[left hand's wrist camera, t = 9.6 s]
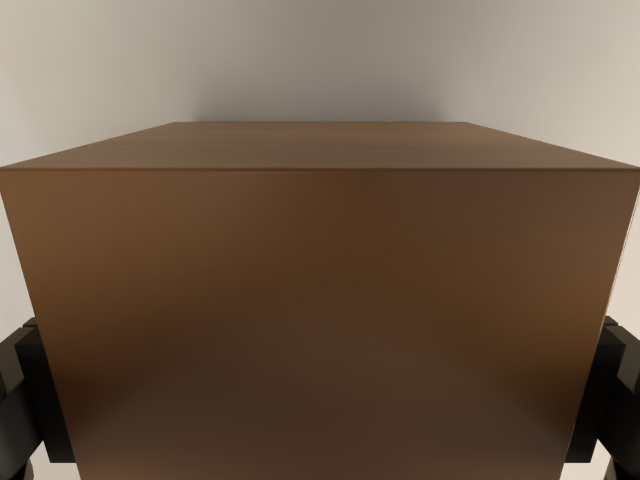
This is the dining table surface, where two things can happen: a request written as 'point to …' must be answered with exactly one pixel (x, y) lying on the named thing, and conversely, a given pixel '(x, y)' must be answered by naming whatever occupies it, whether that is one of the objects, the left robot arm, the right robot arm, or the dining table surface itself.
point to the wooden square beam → (320, 297)
